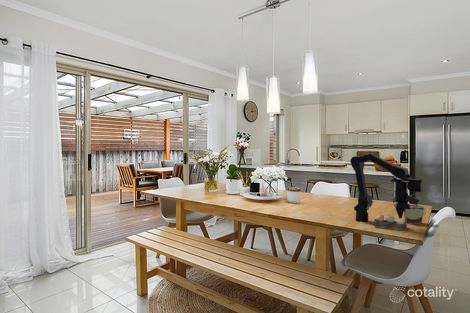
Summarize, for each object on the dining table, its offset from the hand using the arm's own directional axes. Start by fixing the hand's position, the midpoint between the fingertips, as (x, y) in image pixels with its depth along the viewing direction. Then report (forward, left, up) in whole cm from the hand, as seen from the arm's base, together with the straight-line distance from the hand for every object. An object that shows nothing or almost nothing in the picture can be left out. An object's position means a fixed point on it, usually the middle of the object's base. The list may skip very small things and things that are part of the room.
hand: (400, 218), depth 154 cm
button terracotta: (-10, 0, -3) cm, 10 cm away
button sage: (-5, 0, -3) cm, 6 cm away
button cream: (0, 0, -4) cm, 4 cm away
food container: (+7, +17, -6) cm, 19 cm away
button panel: (-5, 0, -6) cm, 7 cm away
